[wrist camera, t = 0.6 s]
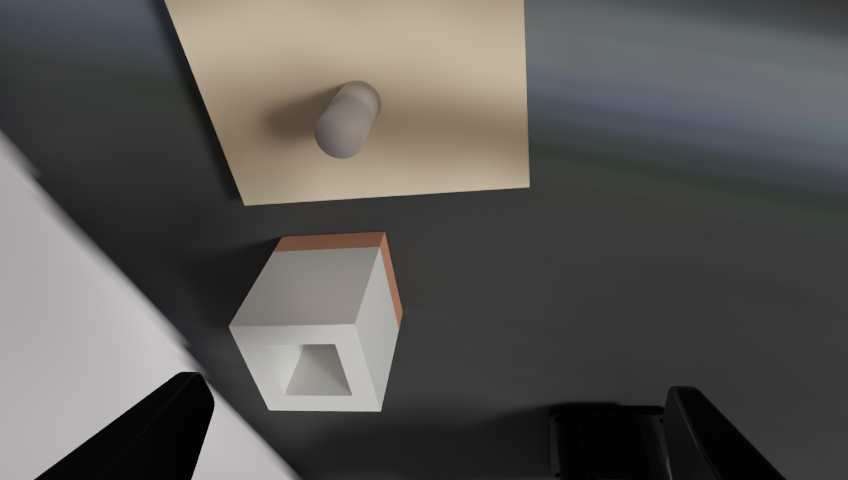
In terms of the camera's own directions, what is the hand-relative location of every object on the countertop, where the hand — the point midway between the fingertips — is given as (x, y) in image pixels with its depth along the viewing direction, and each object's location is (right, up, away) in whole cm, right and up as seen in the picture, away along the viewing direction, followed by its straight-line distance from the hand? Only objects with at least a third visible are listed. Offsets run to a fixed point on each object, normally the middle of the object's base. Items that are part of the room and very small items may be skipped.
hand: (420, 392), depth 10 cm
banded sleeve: (-4, +1, +16) cm, 16 cm away
